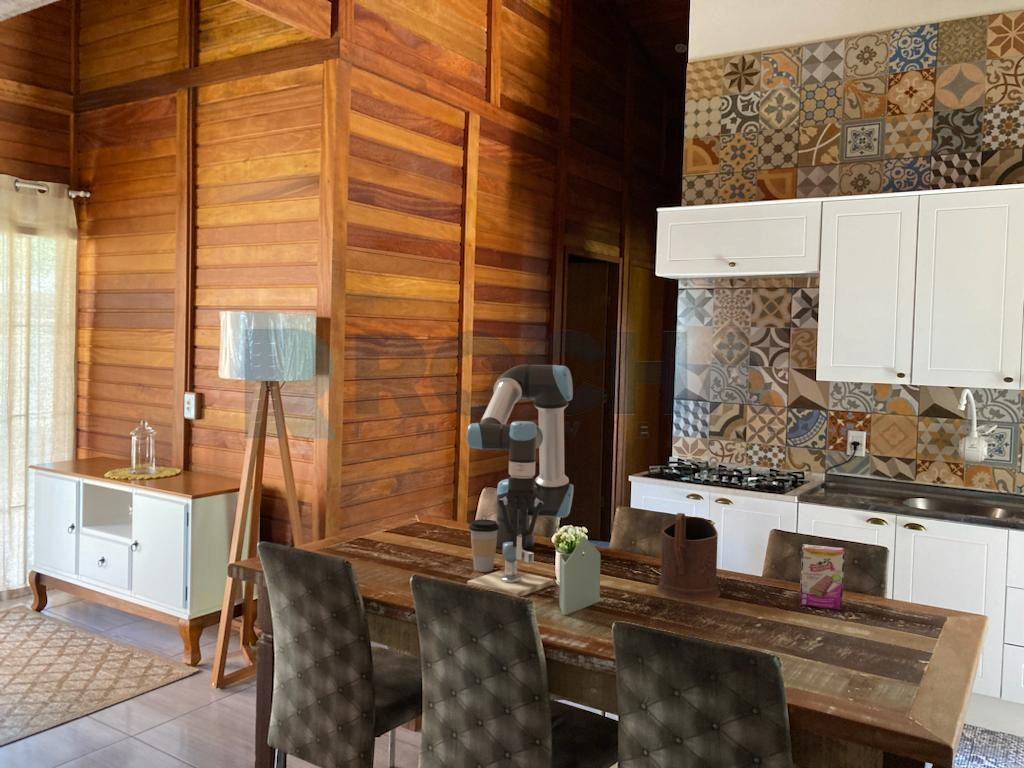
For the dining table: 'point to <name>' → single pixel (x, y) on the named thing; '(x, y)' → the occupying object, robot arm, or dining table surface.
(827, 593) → the candy bar box
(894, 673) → the dining table surface
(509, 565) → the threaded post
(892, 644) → the dining table surface
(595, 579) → the planter
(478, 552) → the coffee cup
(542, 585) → the base board
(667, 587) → the rusty brown jug
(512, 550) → the cap
